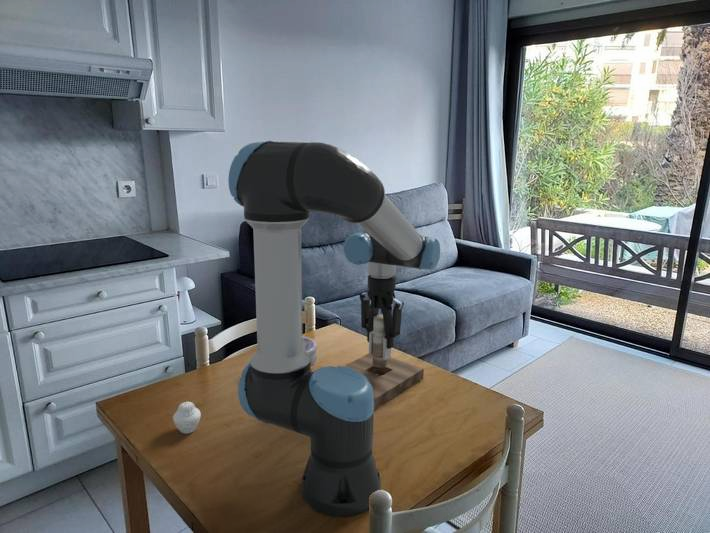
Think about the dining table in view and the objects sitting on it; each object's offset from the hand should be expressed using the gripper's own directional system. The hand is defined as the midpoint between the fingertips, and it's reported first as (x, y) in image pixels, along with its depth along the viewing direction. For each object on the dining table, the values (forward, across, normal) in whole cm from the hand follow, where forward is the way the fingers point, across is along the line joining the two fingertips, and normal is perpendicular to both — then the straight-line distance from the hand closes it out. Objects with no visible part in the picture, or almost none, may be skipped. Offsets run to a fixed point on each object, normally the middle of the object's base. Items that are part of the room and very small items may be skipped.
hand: (379, 355), depth 138 cm
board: (+7, 0, +3) cm, 8 cm away
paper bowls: (+7, +23, +12) cm, 27 cm away
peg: (+3, 0, 0) cm, 3 cm away
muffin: (+7, +18, +49) cm, 53 cm away
